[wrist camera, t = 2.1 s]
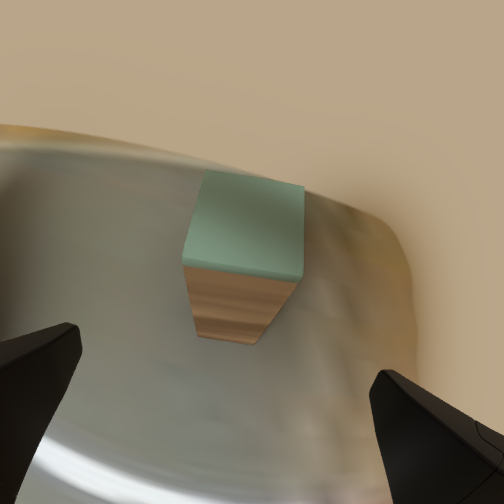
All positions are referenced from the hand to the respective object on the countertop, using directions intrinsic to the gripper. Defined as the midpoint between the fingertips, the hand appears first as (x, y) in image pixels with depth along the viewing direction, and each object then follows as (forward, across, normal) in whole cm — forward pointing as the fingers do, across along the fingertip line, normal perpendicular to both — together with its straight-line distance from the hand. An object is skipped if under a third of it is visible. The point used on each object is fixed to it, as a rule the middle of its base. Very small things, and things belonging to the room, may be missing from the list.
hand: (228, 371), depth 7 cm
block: (+12, 0, +5) cm, 13 cm away
